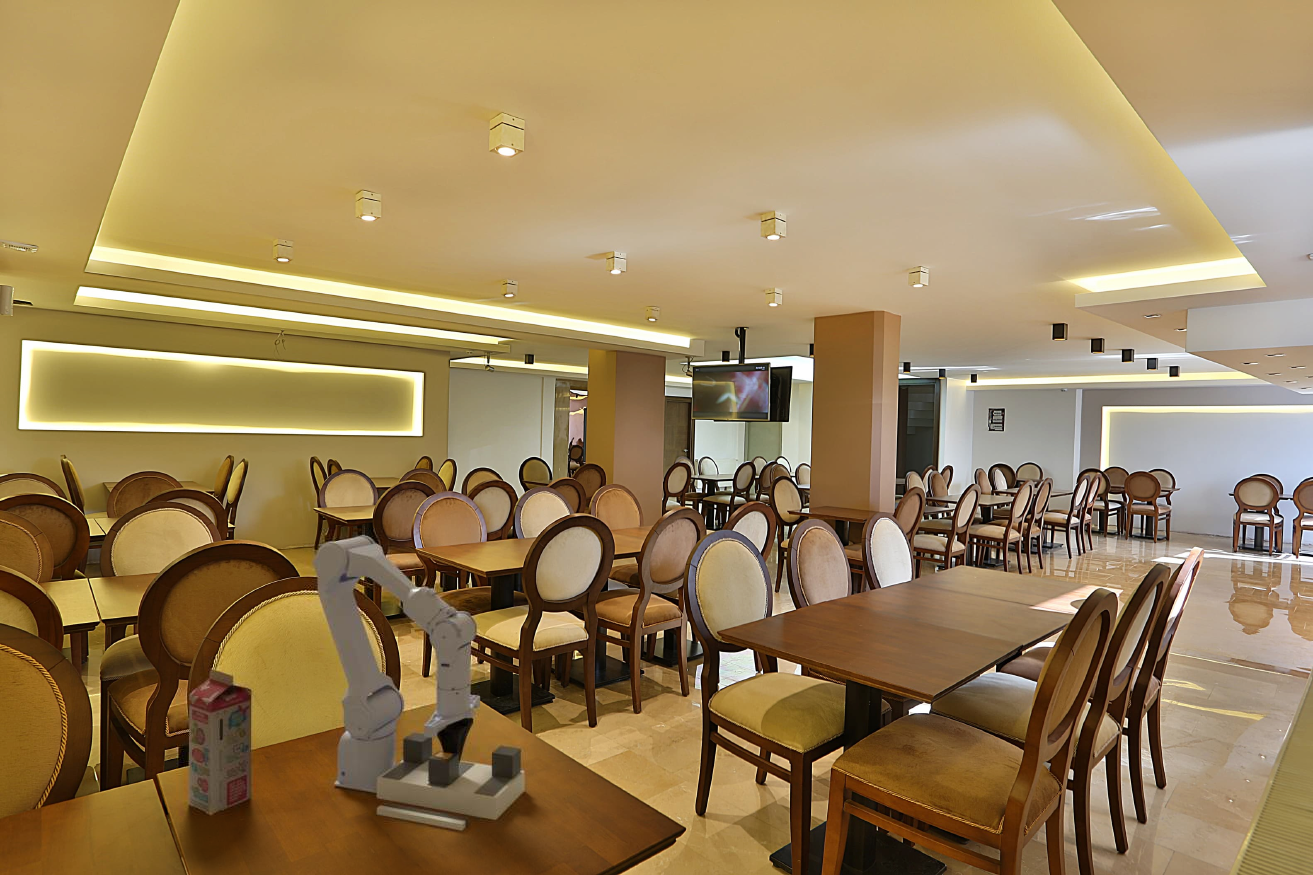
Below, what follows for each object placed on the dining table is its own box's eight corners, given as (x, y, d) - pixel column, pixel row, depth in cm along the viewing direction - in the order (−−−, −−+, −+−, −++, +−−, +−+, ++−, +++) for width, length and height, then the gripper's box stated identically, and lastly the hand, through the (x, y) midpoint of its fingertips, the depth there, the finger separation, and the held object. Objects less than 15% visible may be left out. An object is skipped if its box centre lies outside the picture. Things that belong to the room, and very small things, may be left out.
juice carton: (228, 787, 126) (229, 663, 126) (250, 797, 122) (251, 669, 122) (188, 804, 120) (189, 674, 120) (210, 815, 117) (211, 681, 116)
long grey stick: (376, 814, 117) (376, 807, 117) (384, 808, 119) (384, 802, 119) (462, 830, 113) (462, 824, 113) (468, 824, 115) (468, 817, 115)
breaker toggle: (428, 781, 121) (428, 756, 121) (438, 773, 124) (438, 749, 124) (448, 785, 120) (449, 760, 120) (458, 777, 123) (458, 752, 123)
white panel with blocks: (376, 797, 123) (377, 753, 123) (412, 771, 132) (412, 730, 132) (495, 819, 116) (496, 773, 116) (524, 790, 125) (524, 747, 125)
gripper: (450, 701, 116) (449, 784, 116) (495, 673, 130) (494, 747, 130) (413, 696, 118) (412, 778, 118) (461, 669, 132) (460, 742, 132)
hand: (453, 762), depth 124 cm, fingers closed
